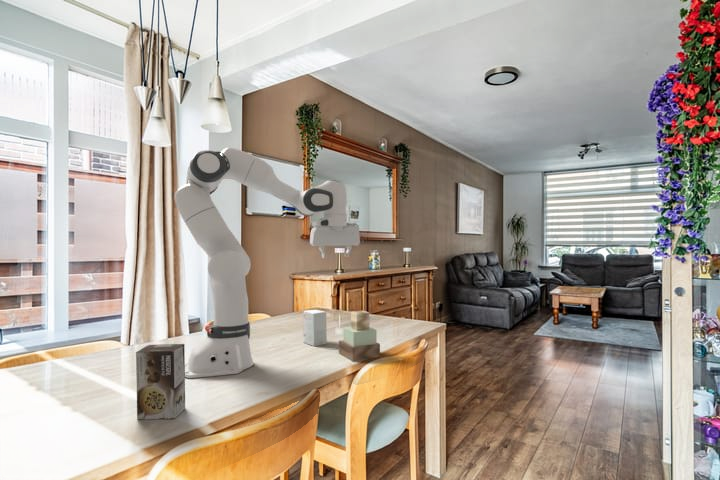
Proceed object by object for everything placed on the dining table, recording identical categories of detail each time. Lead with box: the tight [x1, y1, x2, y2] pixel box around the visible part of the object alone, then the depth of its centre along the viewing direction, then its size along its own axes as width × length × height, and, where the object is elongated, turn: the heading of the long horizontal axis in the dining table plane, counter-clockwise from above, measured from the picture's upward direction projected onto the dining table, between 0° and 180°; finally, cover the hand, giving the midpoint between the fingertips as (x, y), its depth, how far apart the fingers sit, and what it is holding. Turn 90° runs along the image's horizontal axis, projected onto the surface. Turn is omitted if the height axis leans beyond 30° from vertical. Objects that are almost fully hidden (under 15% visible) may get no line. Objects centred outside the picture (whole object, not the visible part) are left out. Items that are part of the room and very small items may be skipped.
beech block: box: [350, 310, 370, 331], centre depth 142 cm, size 5×5×6 cm
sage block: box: [343, 326, 378, 347], centre depth 142 cm, size 9×9×5 cm
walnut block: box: [338, 339, 381, 362], centre depth 142 cm, size 11×11×5 cm
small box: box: [302, 309, 328, 347], centre depth 159 cm, size 8×6×13 cm
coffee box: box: [135, 343, 186, 420], centre depth 94 cm, size 9×6×16 cm
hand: (335, 257), depth 153 cm, fingers open, 8 cm apart
